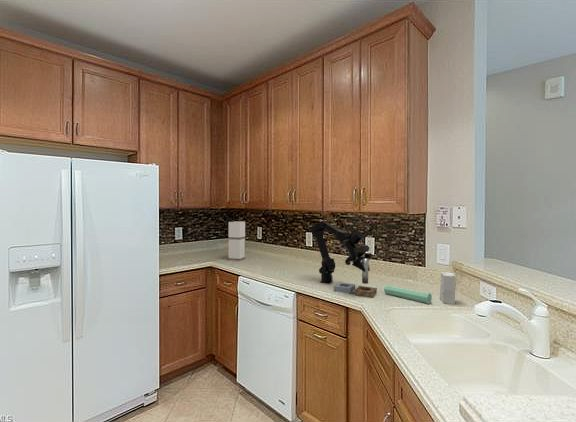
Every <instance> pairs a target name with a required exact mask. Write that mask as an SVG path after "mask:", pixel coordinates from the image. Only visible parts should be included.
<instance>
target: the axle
mask: <svg viewBox="0 0 576 422" xmlns="http://www.w3.org/2000/svg"><path fill="white" fill-rule="evenodd" d="M369 261H370V260H369V259H368V258H362V265H363V267H364V268H365V270H366V271H365V272H364V271H362V270H361V271H362V273H361V283H362V284H365V285H367V284H369V271H368V264H369ZM369 265H370V264H369Z"/></svg>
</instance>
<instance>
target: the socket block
mask: <svg viewBox="0 0 576 422" xmlns="http://www.w3.org/2000/svg"><path fill="white" fill-rule="evenodd" d="M355 289H356V283H355V284H354V283H349V282H348V283H346V282H341V281H340V282H338V283H336V284H335V285H334V286H333V292H337V293H343V294H350V295H351V294H352V293H353V292H355Z"/></svg>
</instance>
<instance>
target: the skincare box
mask: <svg viewBox="0 0 576 422" xmlns="http://www.w3.org/2000/svg"><path fill="white" fill-rule="evenodd" d="M456 282H457V276H456V275H455V274H454V273H453V272H447V271H440V284H439V285H440V286H439V287H440V288H439V289H440V290H439V299H440V301H441V302H442V304H448V305H455V303H456V287H457V286H456V285H457V283H456Z"/></svg>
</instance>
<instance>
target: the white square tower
mask: <svg viewBox="0 0 576 422" xmlns="http://www.w3.org/2000/svg"><path fill="white" fill-rule="evenodd" d="M245 241H246V221H236V220H235V221H228V261H230V260H235V261H234V262H241V260H242V261H244V260H246V257H245V256H246V255H245V252H246V251H245V248H246V247H245Z"/></svg>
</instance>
